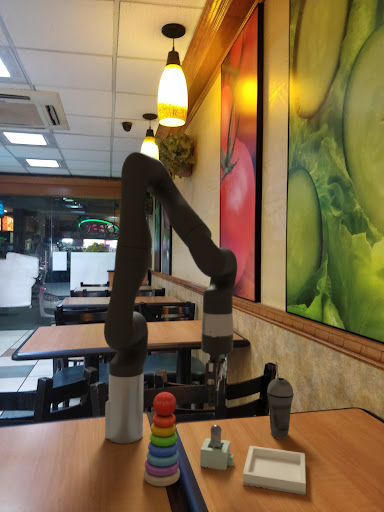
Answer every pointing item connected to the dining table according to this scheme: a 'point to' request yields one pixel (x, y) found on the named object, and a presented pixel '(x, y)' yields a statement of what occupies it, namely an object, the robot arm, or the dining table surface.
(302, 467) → the tray
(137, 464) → the dining table surface
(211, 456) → the pale green hollow block
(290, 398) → the beverage cup
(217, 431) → the post
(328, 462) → the dining table surface
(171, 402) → the stacking toy
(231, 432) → the dining table surface
